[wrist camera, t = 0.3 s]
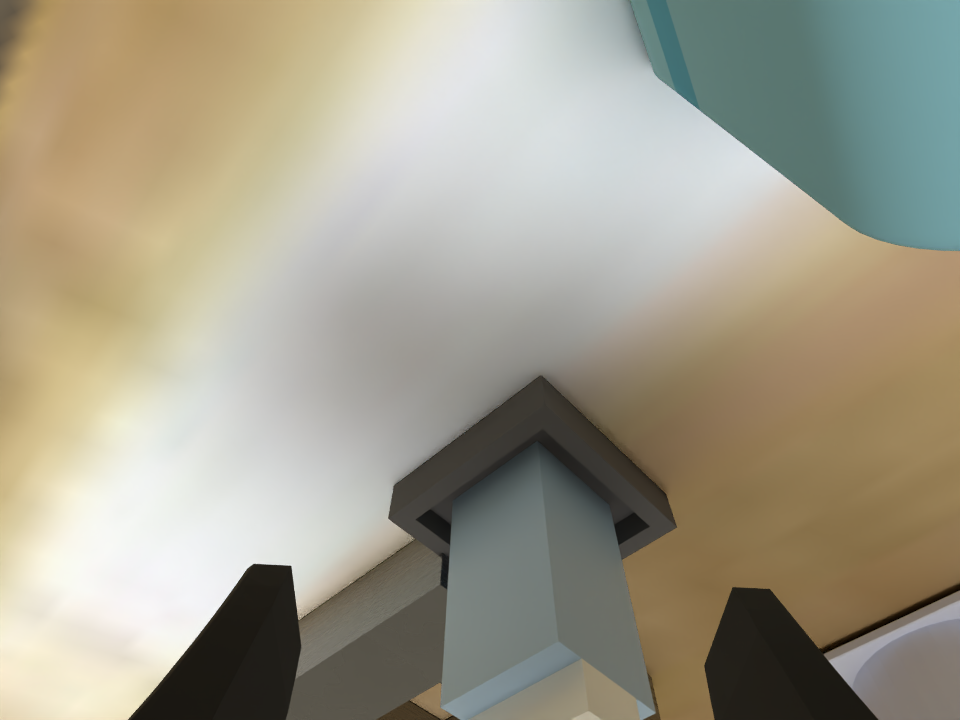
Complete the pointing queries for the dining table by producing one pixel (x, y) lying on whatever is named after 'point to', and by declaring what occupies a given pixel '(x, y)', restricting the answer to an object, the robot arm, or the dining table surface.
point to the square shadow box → (506, 434)
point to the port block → (378, 643)
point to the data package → (830, 99)
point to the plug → (539, 602)
